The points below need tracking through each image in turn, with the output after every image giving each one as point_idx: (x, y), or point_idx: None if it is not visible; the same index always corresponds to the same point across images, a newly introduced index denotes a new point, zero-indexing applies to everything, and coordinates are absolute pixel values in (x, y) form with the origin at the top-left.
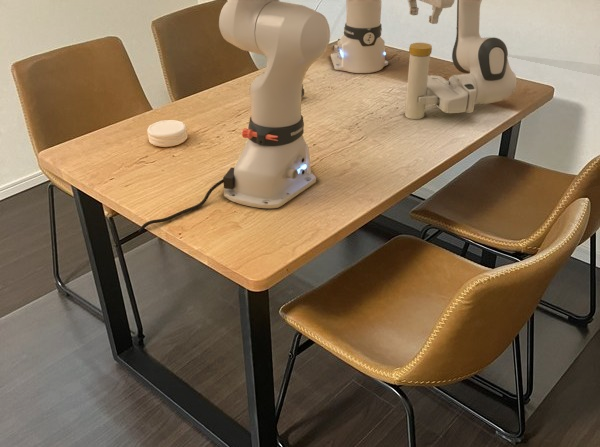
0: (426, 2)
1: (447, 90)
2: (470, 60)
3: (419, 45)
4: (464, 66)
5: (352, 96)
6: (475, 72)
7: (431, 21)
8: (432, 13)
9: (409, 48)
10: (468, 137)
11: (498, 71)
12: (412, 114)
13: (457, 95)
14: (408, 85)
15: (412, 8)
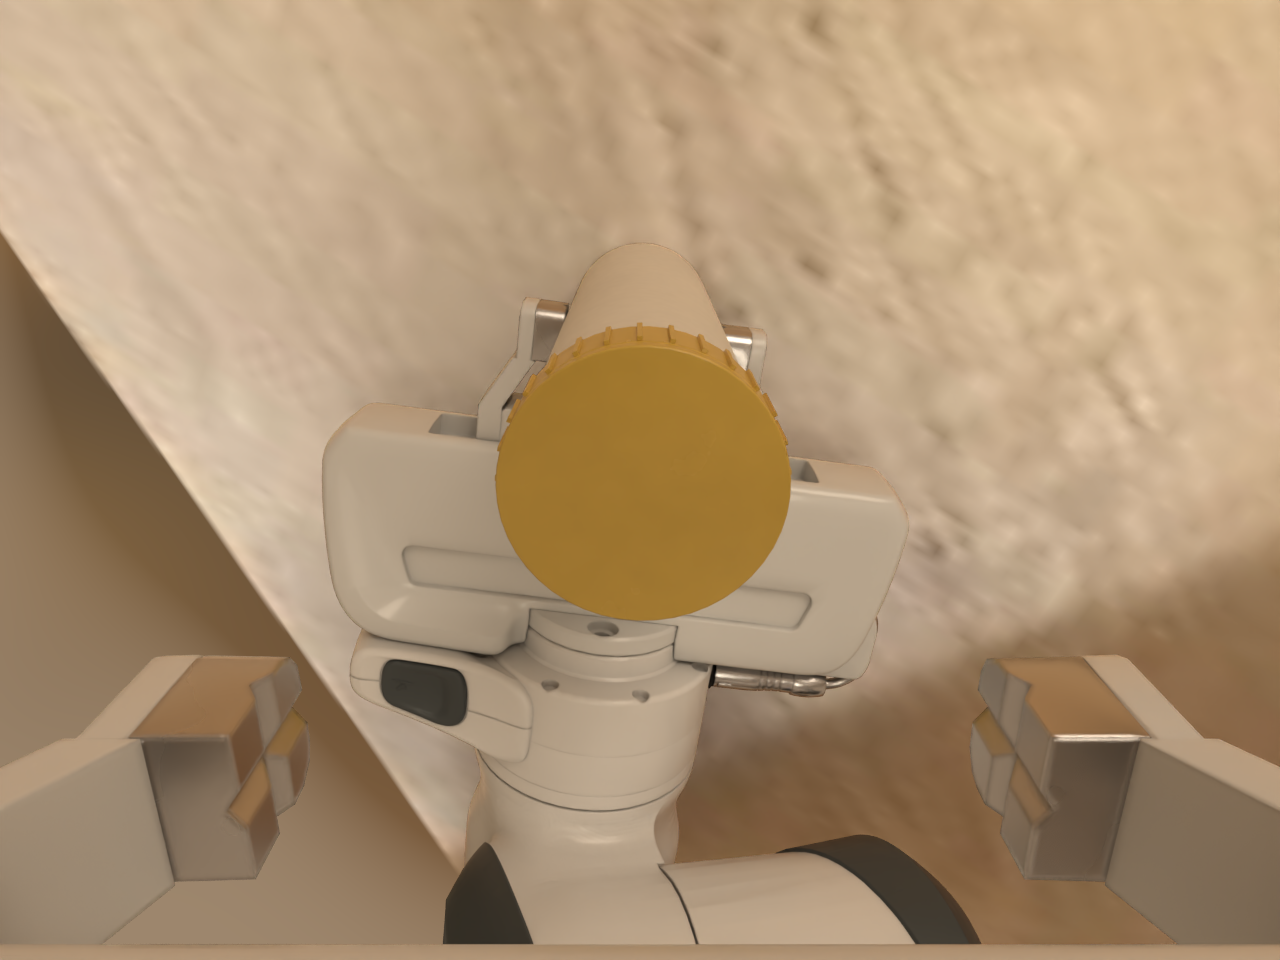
0: (58, 951)
1: None
2: (641, 898)
3: (659, 482)
4: (752, 859)
5: (1207, 57)
6: (573, 845)
7: (160, 668)
8: (24, 790)
9: (702, 344)
10: (205, 431)
11: None
12: (592, 266)
13: (398, 561)
14: (650, 275)
15: (1081, 745)
